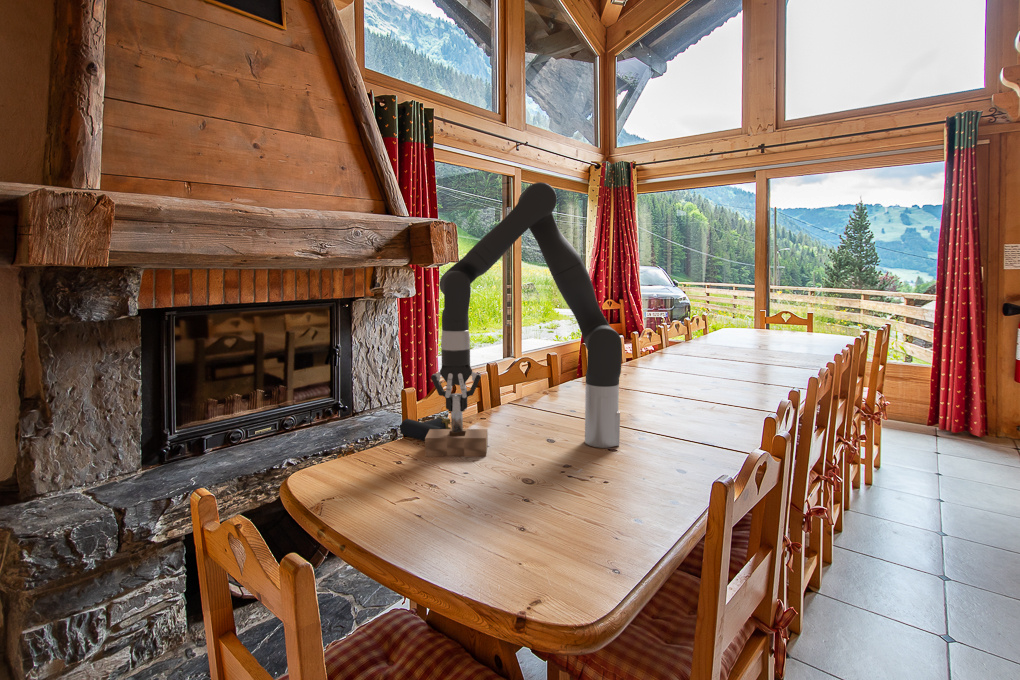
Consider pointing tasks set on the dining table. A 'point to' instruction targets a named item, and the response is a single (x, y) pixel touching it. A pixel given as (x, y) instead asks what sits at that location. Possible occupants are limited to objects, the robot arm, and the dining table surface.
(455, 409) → the pin
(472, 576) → the dining table surface
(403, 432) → the pipe connector
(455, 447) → the socket block
